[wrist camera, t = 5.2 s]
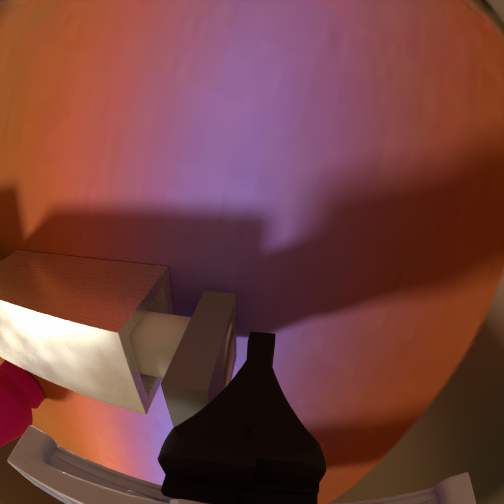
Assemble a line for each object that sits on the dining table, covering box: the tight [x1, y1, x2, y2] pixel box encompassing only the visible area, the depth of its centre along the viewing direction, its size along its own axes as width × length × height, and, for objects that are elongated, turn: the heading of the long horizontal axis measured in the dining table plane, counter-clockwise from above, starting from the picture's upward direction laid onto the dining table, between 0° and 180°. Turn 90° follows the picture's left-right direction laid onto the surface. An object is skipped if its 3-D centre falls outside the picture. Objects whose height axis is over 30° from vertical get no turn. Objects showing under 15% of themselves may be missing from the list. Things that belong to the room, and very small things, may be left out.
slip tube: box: [128, 290, 237, 427], centre depth 12 cm, size 23×4×6 cm, turn 88°
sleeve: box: [0, 250, 174, 414], centre depth 13 cm, size 12×5×5 cm, turn 88°
